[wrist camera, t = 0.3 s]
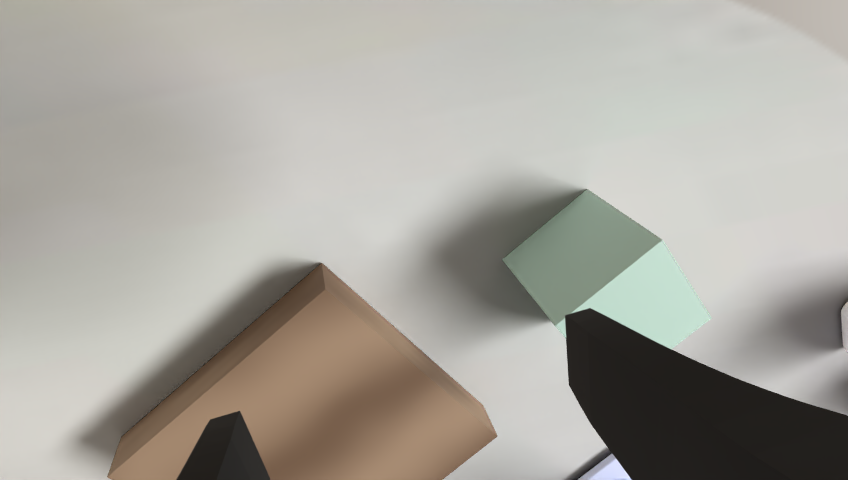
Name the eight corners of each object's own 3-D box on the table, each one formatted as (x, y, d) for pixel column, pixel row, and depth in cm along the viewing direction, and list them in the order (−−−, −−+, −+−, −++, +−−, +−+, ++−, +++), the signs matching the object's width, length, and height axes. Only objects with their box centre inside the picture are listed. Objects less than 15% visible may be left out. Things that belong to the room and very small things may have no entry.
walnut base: (482, 405, 26) (497, 436, 24) (313, 539, 27) (315, 578, 25) (321, 263, 20) (325, 289, 19) (121, 437, 22) (107, 476, 20)
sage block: (633, 257, 24) (711, 318, 20) (554, 320, 25) (614, 393, 20) (586, 188, 22) (662, 240, 18) (501, 258, 22) (554, 326, 18)
